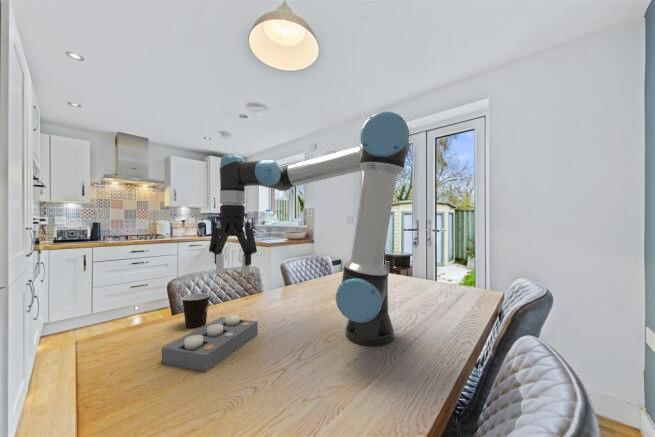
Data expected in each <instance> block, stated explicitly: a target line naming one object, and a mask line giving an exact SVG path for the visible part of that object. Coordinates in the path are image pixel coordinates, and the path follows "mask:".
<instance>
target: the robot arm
mask: <svg viewBox="0 0 655 437" xmlns="http://www.w3.org/2000/svg"><path fill="white" fill-rule="evenodd" d="M359 137H360V145H359V146H357V147H353V148H350V149H346V150H341V151H338V152H334V153H331V154H327V155H323V156H320V157H315V158H312V159H308V160H304V161H301V162H297V163H294V164H290V165H286V166H283V167H280V165H279V164H278V163H277V161H276V160H274V159H273V160H271V159H268V160H267V159H263V160H254V161H246V159H245V158H244V157H242V156H240V155H231V154H230V155H229V154H228V155H227V154H226V155H224V156H222V157H221V158H220V162H219V163H220V165H219V166H220V167H219V180H220V182H219V183H220V190H219V204H221V205H220V207H219V214H220V215H219V216H220V218H221V220H220V221H213V222H212V231H211V237H210V244H209V247H208V251H209V253H212V254H214V264H215V267H216V268H215V275H216V276H219V275H222V274H224V272H225V271H224V270H225V265H224V264H225V263H224V262H225V260H224V258H225V255H224V254H225V253H223V250H224V248H225V245H226V242H227V241H228V238H229V237H230V236H231V235H234V236H236V238H237V241H238V242H239V245H240V247H241V250H242V252H243V255H241V276H242V278H243V277H244V278H245V277H247V276H250V266H251V265H252V255H253V254H256V253H257V252H258V250H257V245H256V240H255V235H254V223H253V222H252V221H251V222H250V221H245V219H244V218H245V215H246V213H245V212H246V211H245V210H246V209H245V204H246V202H245V200H246V199H245V197H246V196H245V195H246V194H245V193H246V187H249V186H250V187H251V186H252V187H253V186H254V187H255V186H259V187H264V188H268V189H272V190H273V189H274V190H277V191H281V192H282V191H284V192H286V191H289V190H291V189H292V188H294V187H298V186H301V185H307V184H310V183H315V182H319V181H322V180H327V179H332V178H335V177H339V176H345V175H347V174H348V175H349V174H354V173H357V172H358V173H359V172H361V171H363V173H364V174H363V178H362V185H361V191H360V192H361V193H360V198H359V203H358V204H359V205H358V211H357V216H356V224H355V231H354V238H353V242H352V249H351V255H350V256H351V257H350V260H348V261H347V262H345V264H344V266H343V271H342V272H343V273H342V278H341V279H342V280H341V283H340V284H339V286H338V287H337V289H336V293H335V303H336V306H337V308H338V310H339V311H340V313H341V315H343V317H345V318H347V322H346V327H345V335H346V336H345V337H346V338H347V339H348V340H349V341H351V342H353V343H355V344H359V345H363V346H370V347H373V346H374V347H375V346H376V347H377V346H384V345H388V344H390V343H391V342H392V341H394V338H395V337H394V336H395V335H394V332H395V331H394V327H393V324H392V320H391V318H390V314H389V292H388V291H389V290H388V289H389V283H388V282H389V277H388V276H389V271H388V266H387V265H386V264H383V263H384V258H385V252H386V244H387V241H388V240H387V238H388V233H389V227H390V220H391V219H390V218H391V216H392V215H391V214H392V207H393V202H394V195H395V190H396V182H397V177H398V176H399V175H400V174H401V173H403V172H404V169H405V164H406V157H407V156H408V155H409V154H408V153H409V151H410V139H409V138H410V130H409V126H408V124H407V122H406V120H405V119H404V118H403V117H402V116H401V115H400V114H398V113H397V112H396V113H395V112H393V111H380V112H377V113H375V114H373V115H371V116H370V117H369V118H368V119H366V121H365V122H364V124H363V125H362V126H361V130H360V136H359ZM243 228H244V229H243Z"/></svg>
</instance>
